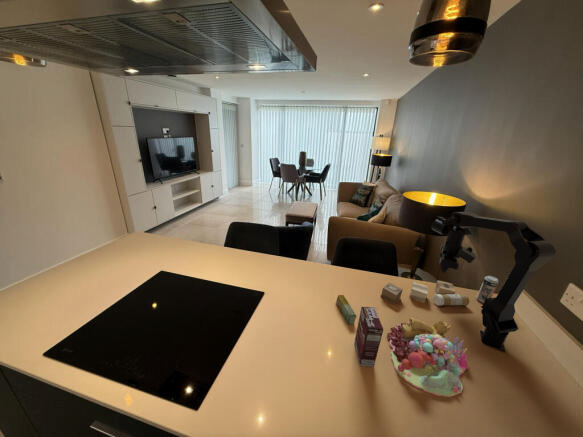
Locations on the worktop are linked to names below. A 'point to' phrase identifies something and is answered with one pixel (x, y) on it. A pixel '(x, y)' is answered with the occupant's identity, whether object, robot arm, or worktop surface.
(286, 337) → the worktop surface
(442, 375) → the pastel sphere sculpture
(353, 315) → the medication box
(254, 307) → the worktop surface
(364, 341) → the supplement box
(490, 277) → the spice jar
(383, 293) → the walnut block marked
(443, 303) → the granule seasoning jar
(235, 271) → the worktop surface
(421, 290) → the plain birch block
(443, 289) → the oak block marked
